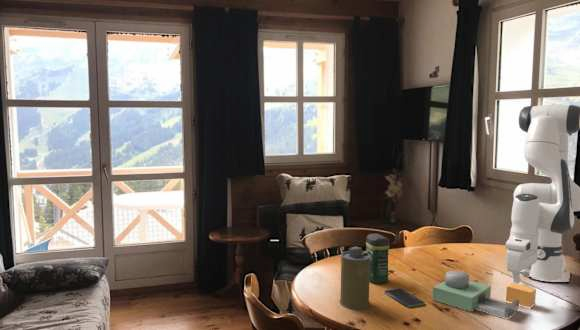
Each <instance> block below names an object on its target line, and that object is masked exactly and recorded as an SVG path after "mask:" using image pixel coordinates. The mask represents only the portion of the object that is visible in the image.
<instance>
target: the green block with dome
mask: <svg viewBox="0 0 580 330" xmlns="http://www.w3.org/2000/svg"><path fill="white" fill-rule="evenodd" d="M432 288H433V289H432V301H433V300H434V301H433V302H436V301H438V302H437V303H439V302H441V303H440V304H442V303H445V304H444V305H446V304H448V305H447V306H449V305H451V306H450V307H452V306H455V307H459V308H462V309H465V310H469V311H472V310H474V309H475V304H476V303H480V304H481V303H483V302H484V301H485V297H490V298H491V289H492V287H491V285H489V284H484V283H481V282H476V281H472V280H470V275H469V274H468V273H467V272H465V271H459V270H448V271H446V272H445V279H444V281H443V282H440V283H438V284H437V285H434V286H432ZM455 307H454V308H455ZM462 309H461V310H462ZM465 310H464V311H465ZM474 311H475V310H474ZM472 312H473V311H472Z"/></svg>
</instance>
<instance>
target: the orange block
mask: <svg viewBox="0 0 580 330" xmlns="http://www.w3.org/2000/svg"><path fill="white" fill-rule="evenodd" d="M536 293H537V290H536V288H533V287H530V286H526V285H521V284H519V283H514V282H511V283H510V284H508V285H507V286H506V296H505V297H506V298H505V302H506V301H509V302H513V301H515V300H516V299H517V300H519V304H520V305H523V306H527V307H531V306H532V305H533V304H535V305H536V296H537V295H536Z"/></svg>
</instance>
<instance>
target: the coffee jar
mask: <svg viewBox="0 0 580 330" xmlns="http://www.w3.org/2000/svg"><path fill="white" fill-rule="evenodd" d="M365 244H366V252H369V254H370V255H371V258H370V280H369V282H371V283H373V284H385V283H387V282H388V281H389V249H390V239H389V238H388V237H386V236H384V235H381V234H379V233H369V234H367V236H366V240H365Z"/></svg>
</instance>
